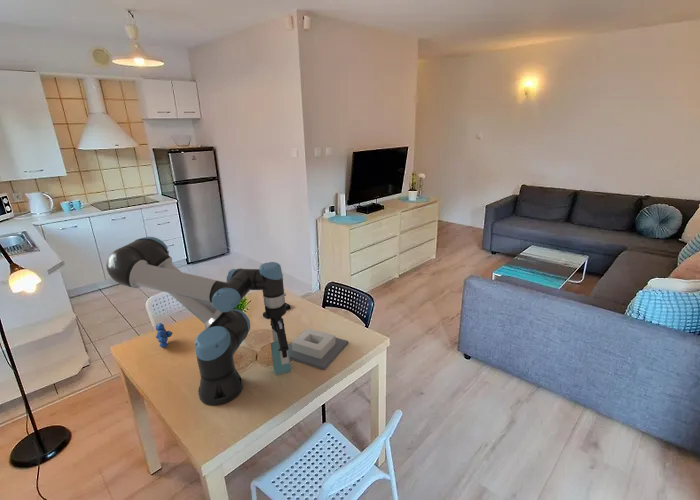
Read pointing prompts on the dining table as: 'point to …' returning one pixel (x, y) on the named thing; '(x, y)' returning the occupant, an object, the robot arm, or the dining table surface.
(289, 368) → the teal peg
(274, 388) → the dining table surface
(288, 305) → the multiport hub
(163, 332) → the grapes
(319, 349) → the socket block
